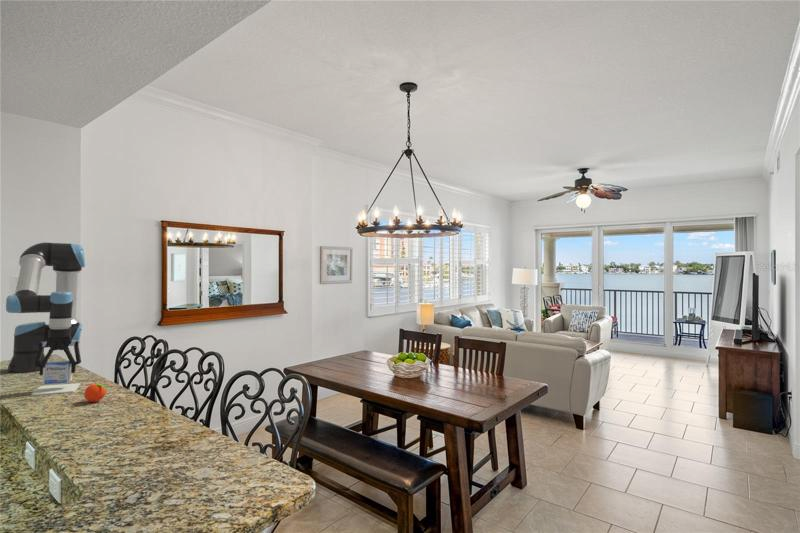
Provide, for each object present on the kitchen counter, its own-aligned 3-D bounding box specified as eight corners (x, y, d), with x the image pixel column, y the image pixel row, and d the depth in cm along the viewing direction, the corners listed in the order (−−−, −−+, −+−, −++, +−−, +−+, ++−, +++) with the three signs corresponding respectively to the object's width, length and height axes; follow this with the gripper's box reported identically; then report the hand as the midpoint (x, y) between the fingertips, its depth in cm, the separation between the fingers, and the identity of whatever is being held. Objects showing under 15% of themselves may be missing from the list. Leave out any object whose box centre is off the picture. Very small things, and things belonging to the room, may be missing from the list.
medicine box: (43, 384, 177) (44, 363, 177) (47, 381, 181) (48, 361, 181) (67, 382, 181) (68, 362, 181) (70, 380, 185) (71, 360, 185)
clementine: (112, 399, 170) (113, 381, 170) (98, 404, 163) (99, 386, 163) (93, 398, 171) (94, 380, 171) (79, 403, 164) (79, 385, 164)
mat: (40, 387, 184) (40, 385, 184) (80, 384, 190) (80, 383, 190) (30, 395, 171) (30, 394, 171) (73, 392, 178) (74, 391, 178)
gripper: (91, 326, 190) (89, 377, 189) (31, 327, 180) (28, 381, 179) (88, 328, 183) (85, 381, 182) (25, 329, 173) (22, 386, 173)
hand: (57, 381), depth 181 cm, fingers closed on medicine box, 8 cm apart
